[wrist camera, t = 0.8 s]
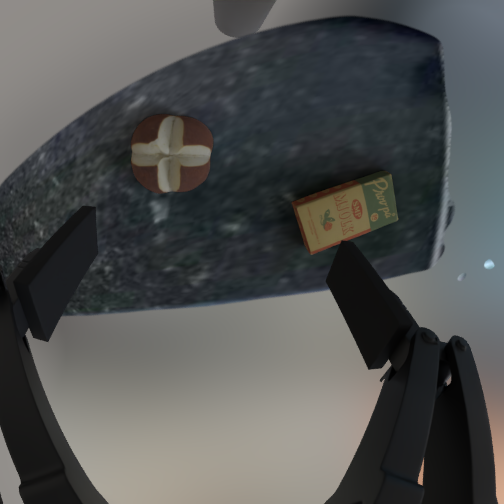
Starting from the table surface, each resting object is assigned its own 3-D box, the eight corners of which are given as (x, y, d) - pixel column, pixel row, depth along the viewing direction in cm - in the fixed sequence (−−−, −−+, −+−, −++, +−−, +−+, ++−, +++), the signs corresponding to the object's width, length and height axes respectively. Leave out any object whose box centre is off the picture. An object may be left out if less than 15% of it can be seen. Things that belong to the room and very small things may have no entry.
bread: (140, 110, 33) (129, 110, 29) (220, 122, 35) (219, 122, 31) (129, 184, 38) (118, 194, 34) (203, 197, 40) (201, 208, 36)
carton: (288, 198, 42) (295, 206, 38) (379, 166, 41) (393, 172, 37) (303, 244, 46) (310, 256, 42) (387, 212, 45) (400, 221, 41)
